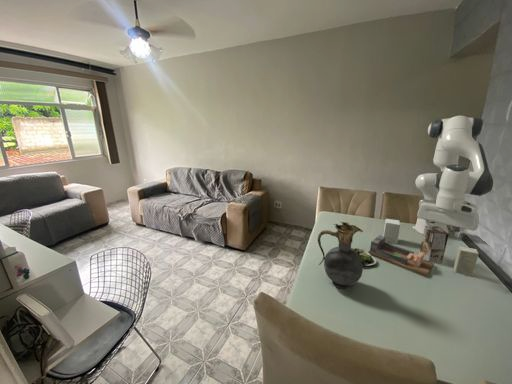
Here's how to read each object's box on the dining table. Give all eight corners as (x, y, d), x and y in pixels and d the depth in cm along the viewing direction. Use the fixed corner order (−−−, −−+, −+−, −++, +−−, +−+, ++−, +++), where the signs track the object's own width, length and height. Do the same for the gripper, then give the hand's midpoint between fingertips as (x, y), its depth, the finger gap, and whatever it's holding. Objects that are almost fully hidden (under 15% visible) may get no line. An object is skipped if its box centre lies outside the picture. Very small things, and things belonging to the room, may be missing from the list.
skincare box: (470, 272, 101) (477, 249, 98) (472, 277, 98) (479, 253, 94) (452, 267, 105) (458, 245, 101) (454, 272, 101) (460, 249, 98)
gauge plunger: (409, 257, 111) (411, 248, 109) (422, 262, 107) (424, 252, 105) (404, 263, 106) (405, 254, 105) (417, 268, 102) (419, 258, 101)
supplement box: (397, 244, 127) (400, 224, 123) (382, 241, 130) (385, 222, 127) (396, 239, 133) (399, 220, 129) (382, 236, 136) (385, 218, 133)
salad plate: (331, 248, 125) (331, 241, 124) (361, 247, 125) (362, 240, 124) (345, 269, 106) (346, 261, 105) (381, 267, 107) (382, 259, 105)
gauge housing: (377, 245, 126) (379, 234, 124) (433, 266, 106) (436, 252, 104) (367, 254, 118) (369, 241, 116) (425, 277, 98) (429, 263, 96)
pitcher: (360, 296, 88) (369, 230, 80) (313, 284, 96) (316, 222, 88) (360, 280, 98) (368, 219, 90) (317, 270, 106) (320, 213, 97)
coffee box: (442, 263, 109) (449, 234, 104) (428, 261, 110) (434, 233, 105) (432, 253, 117) (438, 226, 113) (419, 252, 118) (424, 225, 114)
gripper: (417, 199, 98) (412, 227, 102) (481, 210, 83) (473, 243, 86) (421, 196, 102) (417, 223, 106) (483, 207, 87) (475, 238, 90)
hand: (442, 232), depth 96 cm, fingers open, 8 cm apart
